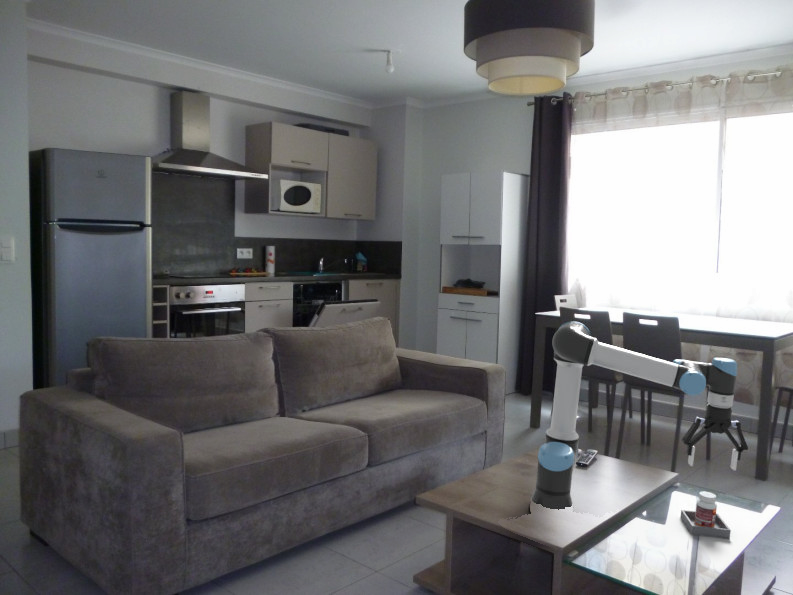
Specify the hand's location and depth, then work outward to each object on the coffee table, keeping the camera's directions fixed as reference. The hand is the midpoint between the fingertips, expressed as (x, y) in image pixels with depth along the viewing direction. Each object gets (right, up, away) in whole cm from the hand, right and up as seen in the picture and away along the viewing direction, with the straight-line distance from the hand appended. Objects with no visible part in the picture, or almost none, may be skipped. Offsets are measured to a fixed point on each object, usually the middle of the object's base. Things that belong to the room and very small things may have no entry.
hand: (711, 466), depth 218 cm
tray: (-1, -21, +3) cm, 22 cm away
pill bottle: (-1, -21, +3) cm, 21 cm away
